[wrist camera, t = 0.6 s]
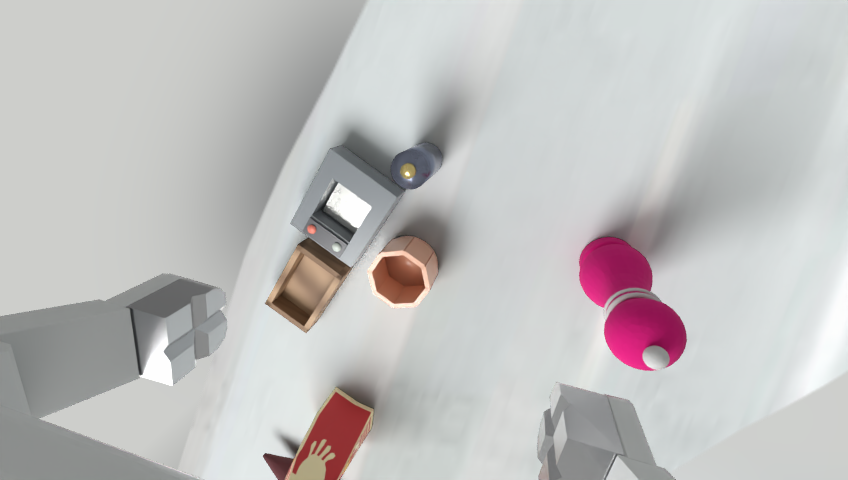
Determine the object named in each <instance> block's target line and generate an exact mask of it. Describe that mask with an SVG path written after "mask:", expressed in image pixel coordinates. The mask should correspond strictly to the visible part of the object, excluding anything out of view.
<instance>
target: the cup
mask: <svg viewBox="0 0 848 480" xmlns="http://www.w3.org/2000/svg"><path fill="white" fill-rule="evenodd" d="M367 273H368V277H369V281H370V284H371V288H372V292H373V293H374V295H375V296H377V297H378V298H379V299H381V300H382V301H384V302H385V303H386V304H388V305H389V306H390V307H392V308H407V307H416V306H418V305H419V303H420V302H421V301H422V300H423V298H424V297H425V296H426V295H427V293H428V292H429V291H430V289H431V287H432V285H433V283H434V281H435V279H436V277H437V275H438V260H437V256H436V254H435V252H434V250H433V249H432V247H431V246H430V245H429V244H428V243H426V242H425V241H424V240H422V239H420V238H417V237H414V236H402V237H398V238H396V239H392V240H391V241H390V242H389V243H388V244H387V245H386V246H385V248H384V249H383V250H382V251H381V252H380V253H379V254H378V256H377V257H376V259H375V260H374V262H373V263H372V265H371V266H370V267H369V269H368V270H367Z"/></svg>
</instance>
